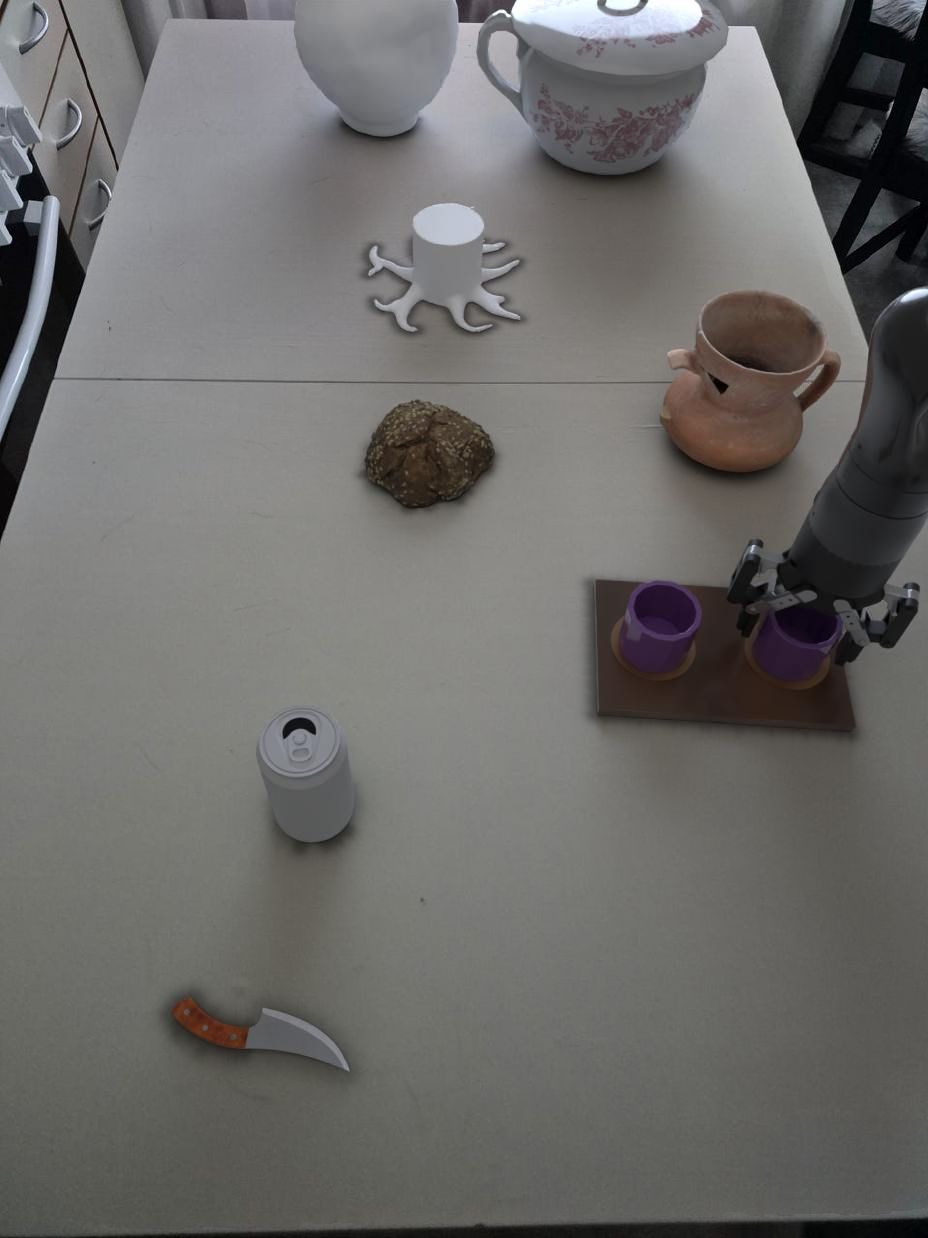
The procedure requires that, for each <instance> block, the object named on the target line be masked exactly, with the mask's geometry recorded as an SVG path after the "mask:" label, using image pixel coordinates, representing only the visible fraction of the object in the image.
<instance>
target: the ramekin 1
mask: <svg viewBox="0 0 928 1238" xmlns="http://www.w3.org/2000/svg"><path fill="white" fill-rule="evenodd" d="M678 584H679V583H676V582H674V581H672V580H671V581H670V580H659V579H655V580H652V581H648V583H644V584H641V585H640V586H639V587H638V588H637V589H636V590H635V591H634V592H632V593H631V596H630V599H629V602H628V606H627V609H626V612H625V615H624V619H623V622H622V625H621V629H620V633H619V636H618V645H619V649H620V651H621V653H622V655H623V657H624V658H625V659H626V660H627V661H628V662H629V663H630V664H631V665H632V666H634V667H635V668H637V669H639V670H641V671H644V672H648V673H654V674H660V673H666V672H670V671H672V670H674V669H676V668H677V667H679V666H680V665H681V664H682V663H683V661H684V660H685V658H686V657H687V655H688V652H689V650H690V648H691V645H692V643H693V641H694V638H695V636H696V634H697V631H698V629H699V626H700V622H701V618H702V611H701V608H700V605H699V602H698V600H697V598H696V597H695V596H694V595H693V594H692V593H691V592H690V591H689V590H688V589H687V588H685V587H683V586H681V585H682V584H679V585H678Z"/></svg>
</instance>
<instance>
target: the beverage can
mask: <svg viewBox="0 0 928 1238" xmlns="http://www.w3.org/2000/svg"><path fill="white" fill-rule="evenodd" d="M255 756H256V761H257V764H258V766H259V771H260V774H261V777H262V780H263V783H264V787H265V790H266V793H267V796H268V799H269V802H270V805H271V808H272V811H273V815H274V816H275V817H274V819H275V821H276V823H277V825H278V827H280V829H281V830H282V831H283V832H284V833H285V834H286V835H287V836H289V837H291V838H292V839H295V840H297V841H300V842H304V843H320V842H323V841H327V840H329V839H332V838H333V837H335V836H336V835H338V834H339V833H340V832H342V831H343V830H344V829H345V828H346V827H347V825H348V824H349V822H350V820H351V819H352V816H353V814H354V810H355V803H356V802H355V792H354V786H353V785H354V784H353V778H352V771H351V765H350V758H349V750H348V743H347V738H346V734H345V732H344V730H343V728H342V726H341V725H340V723H339V722H337V720H336V719H335V718H333V717H332V716H331V715H330V714H329V713H328V712H327V711H325V710H324V709H323V708H319V707H317V706H314V705H309V704H298V705H297V704H296V705H291V706H287V707H286V708H283V709H282V710H279V711H278V712H275V714H273V715H271V717H270V718H269V719H268V720H267V721H266V723H265V724H264V725H263V727H262V729H261V732H260V735H259V737H258V740H257V744H256V750H255Z"/></svg>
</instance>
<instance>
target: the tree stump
mask: <svg viewBox="0 0 928 1238" xmlns="http://www.w3.org/2000/svg"><path fill="white" fill-rule="evenodd" d="M474 208H475V206H471V207H468V206H464V205H461V204H460V203H457V201H456V202H455V203H454V202H449V203H436V204H433V205H429V206H426V207H425V208H423V209H420V210H419V211H418V212H417V214H416V215H414V217H413V219H412V265H413V266H412V267H404V266H400V265H398V264H397V263H394V262H392V261H389V260H387V259H385V258H381V257H379V256H378V249H379V247H378V246H377V245H374V246H373V247H372V248H371V249H370V251H369V253H368V257H369V261H370V262H371V264H372V266H373V268H371V269H370V270H369V271H368V274H367V276H368V277H372V275H374V274H376V273H378V272H380V271H381V270H382V269H383V268H385V269H388V270H389V271H391V272H393V273H394V274H395V275H397V276H398V277H399V278H401V279H403V280H405V281H408V282H410V284H411V285H410V287H409V289H408V290H407V292H406V293H405V294H404V295H403V297H401V298H399V299H396V300H394V301H392V302H391V303H390V304H386V305H385V304H381V303H380V302H379V301H378V300H377V299H376V298H375V299H374V300H373V303H374V307H376V308H377V309H379V311H383V312H385V313H386V312H388V313H389V312H390V313H393V314H394V315H395V318H396V322H397V324H398V326H399V327H400V328H401V329H402V330H404V331H406V332H410V333H414V332H418V331H419V329H418V328H417V327H414V326H411V325H409V323H408V321H407V319H408V316H409V315H410V312H411V311H412V308H414V306H415V305H416V304H417V303H419V302H420V301H425V302H428V303H430V304H434V305H437V306H443V307H445V308H447V309H448V310H449V312H450V313H451V315H452V318H453V320H454V321H455V323H456V324H457V325H458V326H459V327H460V328H462V329H464V330H465V331H468V332H473V333H476V332H478V333H479V332H481V331H484V330H487V329H489V328H491V327H493V324H487V325H483V326H476V327H475V326H471V325H469V324H468V323H467V322H466V321H465V319H464V316H465V315H464V314H465V309H466V306H467V304H468V303H472V302H473V303H475V304H477V305H479V306H480V307H481V308H483V309H484V310H485V311H487V312H488V313H490V314H492V315H496V316H500V317H503V318H508V319H512V320H519V321H520V320H521V317H520V316H519V315H518V314H517V313H514V312H510V311H508V310H506V309H504V308H502V307H501V306H500V305H501V304H502V303H504V302H506V298H505V297H504V296H502V295H495V294H492V293H489V292H488V291H487V290H485V289H484V287H483V286H482V284H483V283H485V282H488V281H490V280H493V279H495V278H498V277H501V276H503V275H504V274H506V273H509V272H510V271H511V270H512V269H513V268H514V267H516V266H518V265H519V263H520V261H521V260H520V259H516V260H513V261H512V262H510V263H507V264H506V265H504V266H501V267H497V268H487V267H486V268H485V267H483V254H485V253H489V252H494V251H498V250H500V249H501V248H502V247H505V245H506V244H505V243H504V242H497V243H494V244H488V243H487V244H486V243H484V242H486V240H485V239H484V238H485V237H484V235H485V234H484V233H485V222H484V220H483V217H482V216H481V215H480V214H479V213H478V212H477V211H476V210H474Z"/></svg>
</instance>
